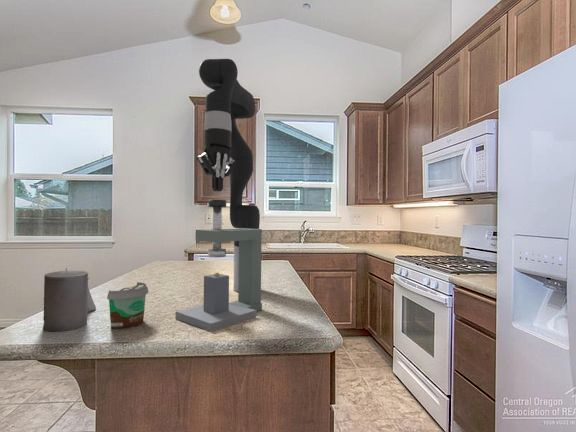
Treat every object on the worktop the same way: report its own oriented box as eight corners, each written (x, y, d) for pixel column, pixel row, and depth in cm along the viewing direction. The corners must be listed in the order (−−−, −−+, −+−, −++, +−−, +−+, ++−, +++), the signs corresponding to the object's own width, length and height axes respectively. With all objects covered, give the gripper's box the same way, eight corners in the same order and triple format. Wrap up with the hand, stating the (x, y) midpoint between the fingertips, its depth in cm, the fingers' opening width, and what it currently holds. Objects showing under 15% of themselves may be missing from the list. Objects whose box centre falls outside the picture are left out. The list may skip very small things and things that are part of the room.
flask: (65, 310, 102) (65, 277, 102) (91, 305, 107) (92, 274, 107) (72, 315, 97) (72, 280, 97) (100, 310, 102) (100, 277, 102)
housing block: (217, 307, 99) (217, 270, 99) (228, 310, 96) (229, 272, 96) (203, 311, 96) (203, 273, 96) (214, 314, 92) (215, 275, 92)
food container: (128, 333, 83) (128, 292, 83) (106, 331, 84) (107, 291, 84) (157, 318, 95) (157, 282, 95) (138, 316, 96) (138, 281, 96)
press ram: (218, 254, 99) (218, 200, 99) (229, 256, 96) (230, 200, 96) (204, 256, 96) (204, 199, 96) (215, 257, 92) (215, 199, 92)
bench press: (237, 302, 113) (237, 228, 113) (272, 311, 102) (273, 229, 102) (175, 318, 95) (176, 229, 95) (210, 331, 85) (211, 232, 85)
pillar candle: (33, 330, 84) (34, 270, 84) (64, 318, 94) (65, 264, 94) (67, 333, 83) (68, 272, 83) (96, 321, 92) (97, 266, 92)
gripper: (227, 136, 103) (226, 193, 103) (190, 127, 93) (189, 190, 93) (244, 132, 98) (243, 192, 98) (207, 123, 88) (206, 189, 88)
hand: (217, 191), depth 96 cm, fingers closed
